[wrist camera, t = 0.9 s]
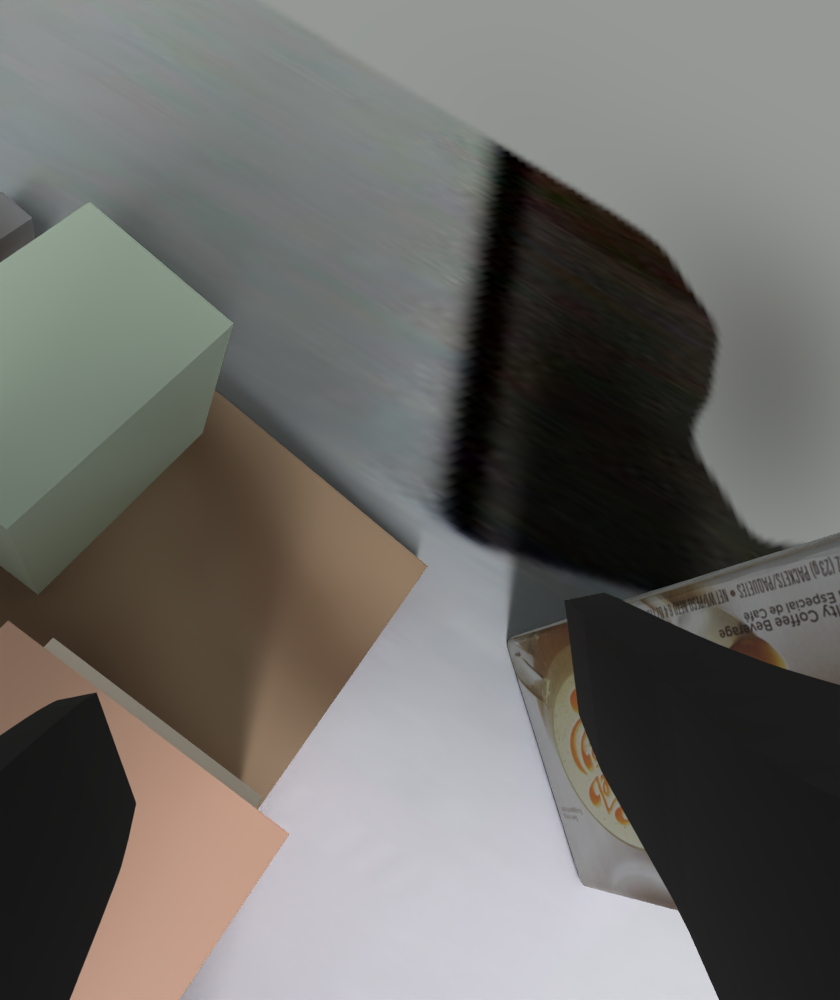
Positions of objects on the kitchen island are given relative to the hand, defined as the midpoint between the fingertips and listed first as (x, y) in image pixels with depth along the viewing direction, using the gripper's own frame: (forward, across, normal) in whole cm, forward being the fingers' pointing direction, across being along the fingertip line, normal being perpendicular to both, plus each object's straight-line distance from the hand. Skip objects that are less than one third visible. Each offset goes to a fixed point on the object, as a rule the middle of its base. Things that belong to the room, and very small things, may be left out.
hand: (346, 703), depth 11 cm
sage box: (+13, +9, -2) cm, 15 cm away
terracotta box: (+7, +8, +6) cm, 13 cm away
